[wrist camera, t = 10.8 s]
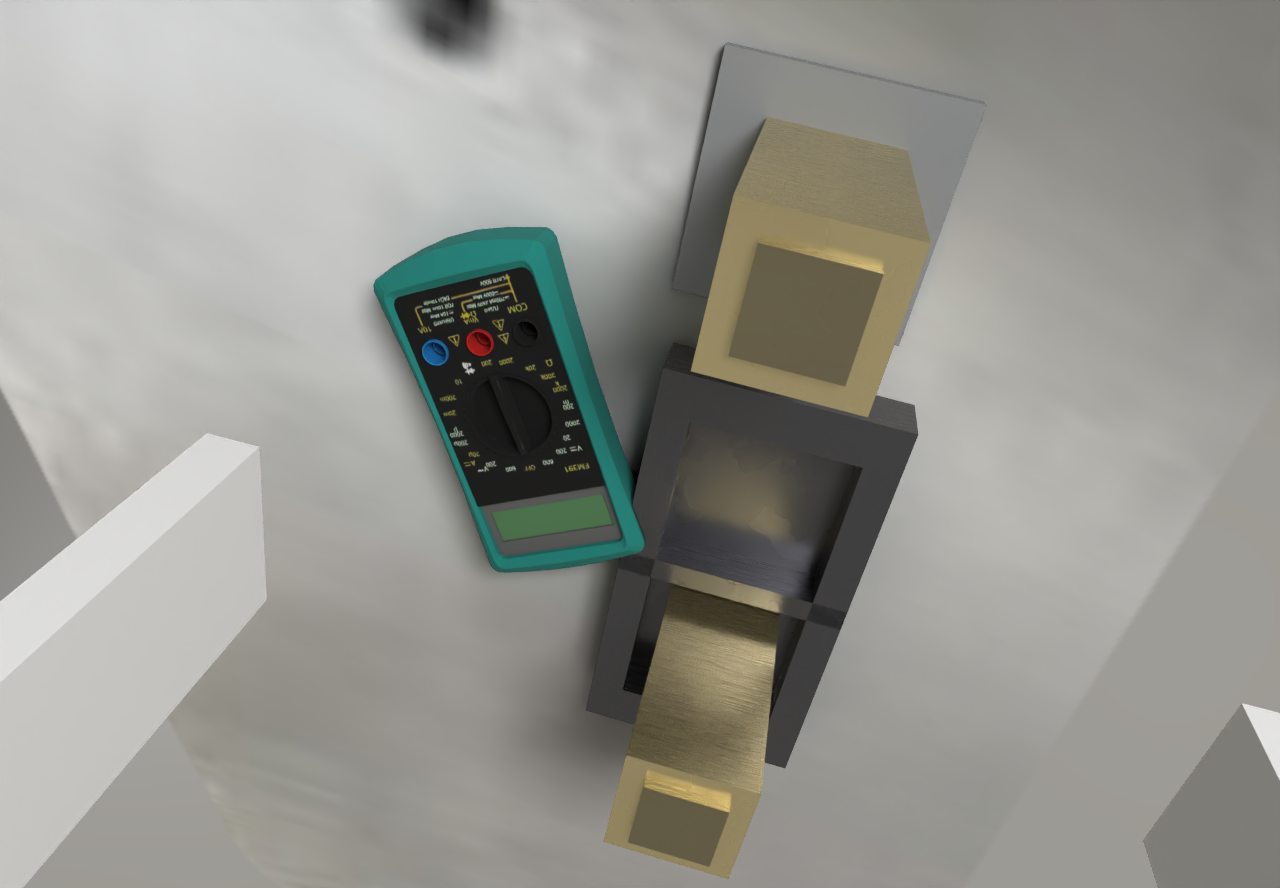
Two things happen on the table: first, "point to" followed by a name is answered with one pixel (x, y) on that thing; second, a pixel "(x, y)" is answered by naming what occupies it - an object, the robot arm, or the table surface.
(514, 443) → the digital multimeter
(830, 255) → the tan rectangular block
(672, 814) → the gold rectangular block
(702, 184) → the mat
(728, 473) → the dark grey block holder
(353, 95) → the table surface
